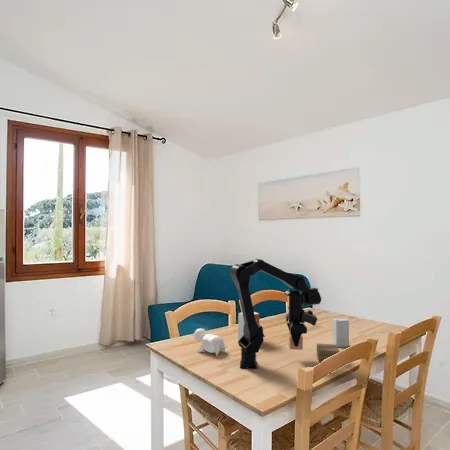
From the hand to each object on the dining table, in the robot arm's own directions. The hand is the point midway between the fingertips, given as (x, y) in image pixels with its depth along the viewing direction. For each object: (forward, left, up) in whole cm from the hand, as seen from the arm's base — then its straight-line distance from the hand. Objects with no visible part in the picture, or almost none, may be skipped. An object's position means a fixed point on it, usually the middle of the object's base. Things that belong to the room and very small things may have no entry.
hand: (295, 344), depth 138 cm
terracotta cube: (0, 0, -1) cm, 1 cm away
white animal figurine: (+6, +36, -6) cm, 37 cm away
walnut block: (+2, -13, -6) cm, 15 cm away
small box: (+21, +19, -6) cm, 29 cm away
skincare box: (+18, -23, -6) cm, 30 cm away
